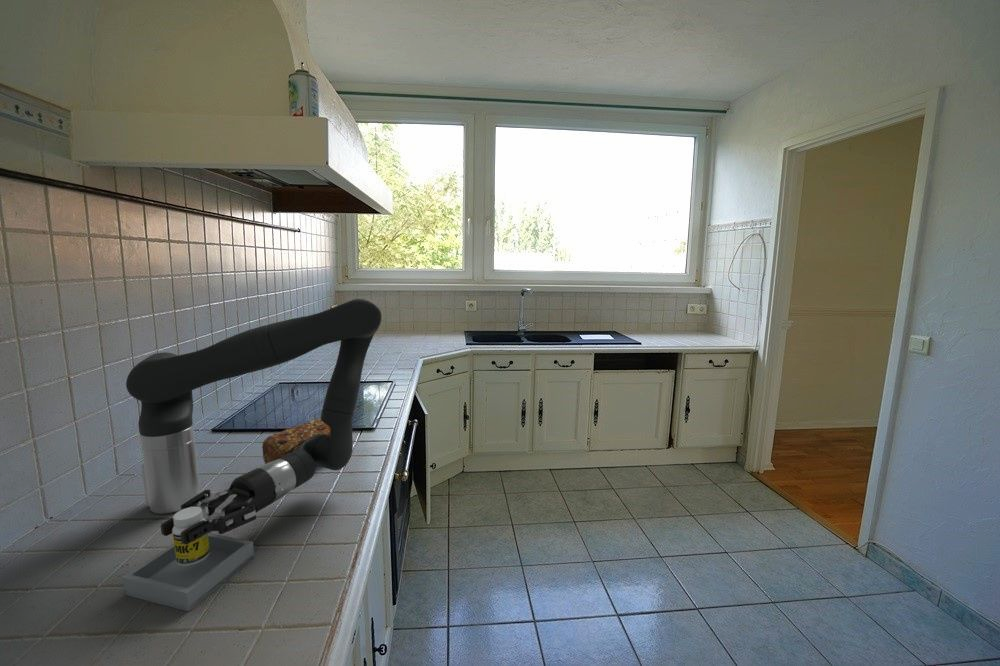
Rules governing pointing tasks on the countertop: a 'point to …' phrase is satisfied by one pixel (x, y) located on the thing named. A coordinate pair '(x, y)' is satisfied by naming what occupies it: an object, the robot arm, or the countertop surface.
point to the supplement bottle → (196, 548)
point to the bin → (188, 574)
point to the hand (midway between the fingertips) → (172, 534)
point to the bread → (291, 439)
